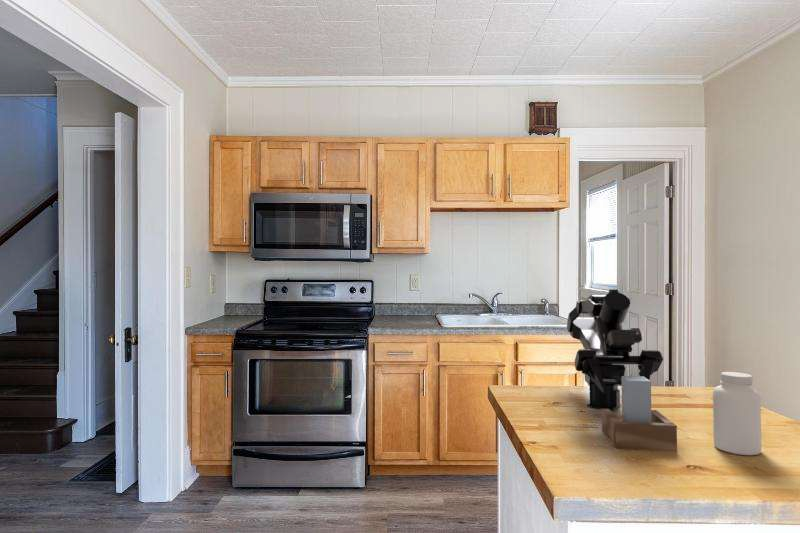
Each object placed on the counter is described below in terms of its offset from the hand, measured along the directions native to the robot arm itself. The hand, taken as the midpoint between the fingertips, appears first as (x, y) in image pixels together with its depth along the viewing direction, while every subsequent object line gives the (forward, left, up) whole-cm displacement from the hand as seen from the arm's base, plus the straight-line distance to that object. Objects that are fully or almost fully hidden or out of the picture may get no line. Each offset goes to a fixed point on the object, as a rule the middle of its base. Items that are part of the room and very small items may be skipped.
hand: (625, 392), depth 112 cm
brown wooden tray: (+4, -6, -8) cm, 11 cm away
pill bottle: (+21, +2, -8) cm, 22 cm away
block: (+4, -6, -8) cm, 11 cm away
